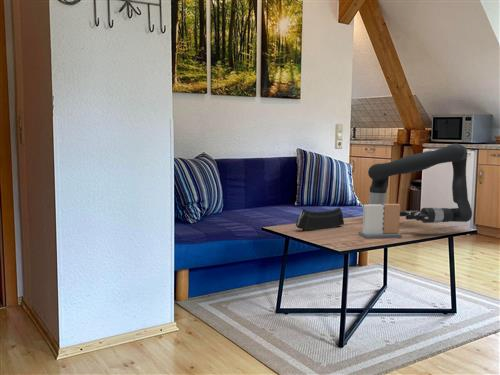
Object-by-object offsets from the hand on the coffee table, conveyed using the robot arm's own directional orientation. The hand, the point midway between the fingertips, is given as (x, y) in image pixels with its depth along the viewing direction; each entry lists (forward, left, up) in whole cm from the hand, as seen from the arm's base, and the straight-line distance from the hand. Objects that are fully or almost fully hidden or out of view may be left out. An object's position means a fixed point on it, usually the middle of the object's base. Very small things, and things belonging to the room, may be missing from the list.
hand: (401, 215), depth 248 cm
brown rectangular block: (0, -6, -8) cm, 10 cm away
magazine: (-20, -35, -10) cm, 42 cm away
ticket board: (0, -11, -10) cm, 15 cm away
